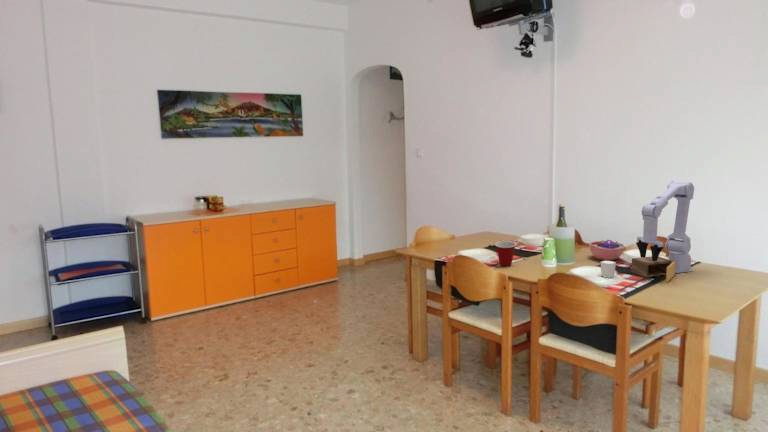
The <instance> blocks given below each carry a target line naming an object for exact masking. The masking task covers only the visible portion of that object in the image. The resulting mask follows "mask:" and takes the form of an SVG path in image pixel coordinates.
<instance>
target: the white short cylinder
mask: <svg viewBox="0 0 768 432" xmlns="http://www.w3.org/2000/svg"><path fill="white" fill-rule="evenodd" d="M616 266H617V261H614V260H611V261H605V260H602V261H600V272H601V273H600V274H601V275H602V276H605V277H613V278H615V273H616V272H615V271H616ZM602 276H601V277H602ZM605 277H604V278H605Z"/></svg>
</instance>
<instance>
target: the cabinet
mask: <svg viewBox="0 0 768 432" xmlns="http://www.w3.org/2000/svg"><path fill="white" fill-rule="evenodd" d="M670 264H671V260H669V258H668V259H667V258H664V257H660V256H658V259H657V261H652V255H651V256H645V257H641V256H640V257H633V258H631V270H630V271H631V273H633V274H636V275H638V276H640V277H644V278H654V277H653V276H655V277H661V276H660V275H664V276H666V272H667V267H668V266H669V265H670Z"/></svg>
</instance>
